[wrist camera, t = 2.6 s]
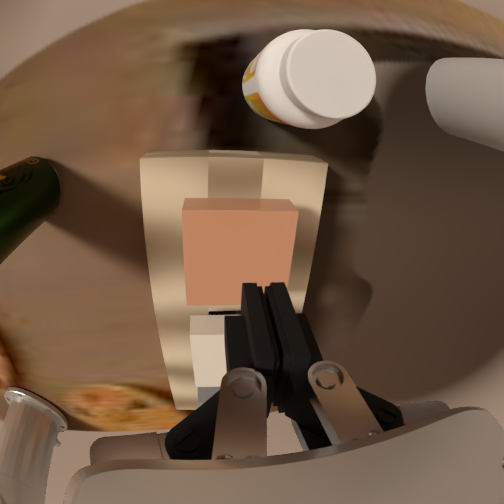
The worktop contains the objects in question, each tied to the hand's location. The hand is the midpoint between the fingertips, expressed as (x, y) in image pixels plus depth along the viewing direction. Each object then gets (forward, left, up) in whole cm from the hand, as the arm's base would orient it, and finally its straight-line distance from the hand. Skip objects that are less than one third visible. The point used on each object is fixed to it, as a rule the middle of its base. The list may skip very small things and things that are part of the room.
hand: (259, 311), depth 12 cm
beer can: (+3, +16, -12) cm, 20 cm away
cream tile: (-9, 0, -8) cm, 12 cm away
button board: (-9, 0, -12) cm, 15 cm away
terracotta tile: (0, 0, -8) cm, 8 cm away
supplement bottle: (+10, -3, -12) cm, 16 cm away
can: (+13, -19, -12) cm, 25 cm away
